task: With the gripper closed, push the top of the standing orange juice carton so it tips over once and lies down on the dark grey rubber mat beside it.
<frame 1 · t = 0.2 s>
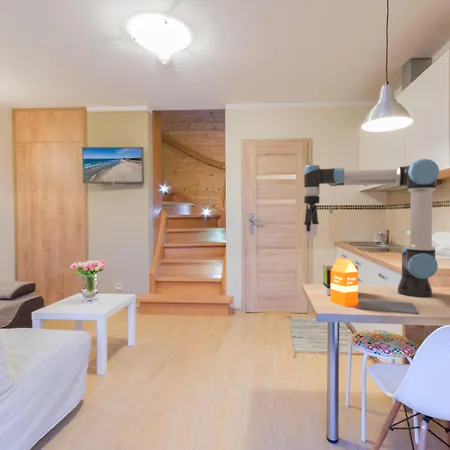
hand: (311, 237, 173), 28 cm above the table, tool pointing down, fingers open, 13 cm apart
tea box: (339, 294, 170), on the table
orange juice: (343, 303, 151), on the table
mat: (385, 306, 145), on the table
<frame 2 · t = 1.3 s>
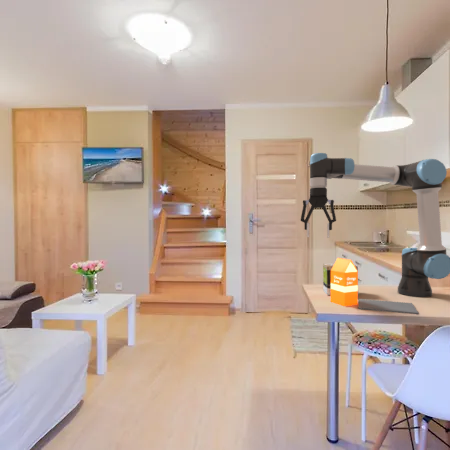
hand: (318, 237, 155), 29 cm above the table, tool pointing down, fingers open, 8 cm apart
nothing on the table moved.
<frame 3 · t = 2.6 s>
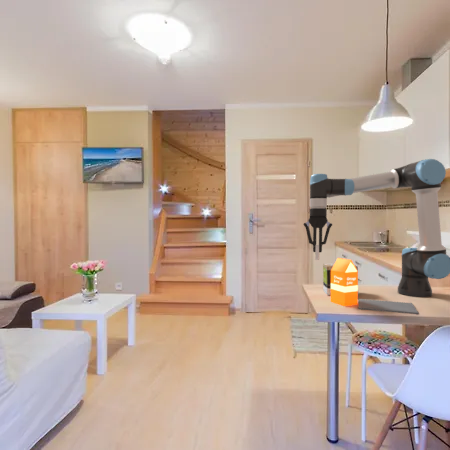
hand: (317, 259, 155), 19 cm above the table, tool pointing down, fingers closed
nothing on the table moved.
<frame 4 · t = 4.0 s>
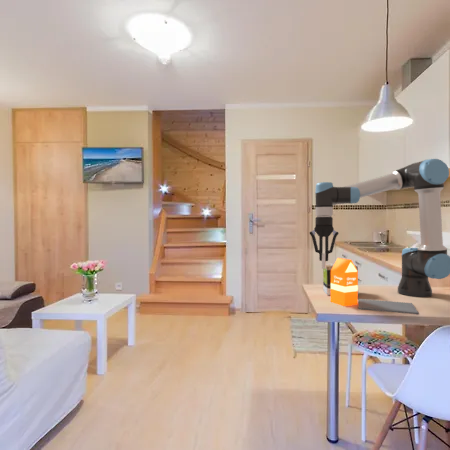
hand: (323, 268, 154), 15 cm above the table, tool pointing down, fingers closed
nothing on the table moved.
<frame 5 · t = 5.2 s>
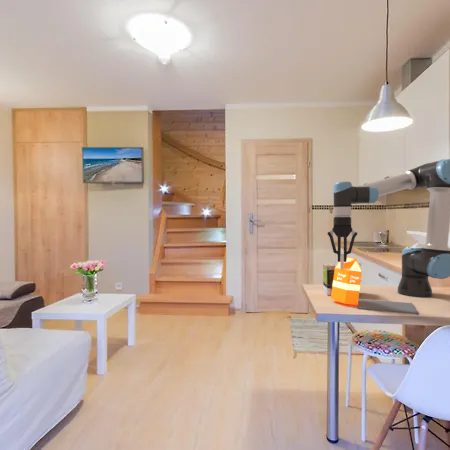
hand: (342, 269, 151), 15 cm above the table, tool pointing down, fingers closed
orange juice: (343, 302, 151), on the table, touching gripper
everything else where it was.
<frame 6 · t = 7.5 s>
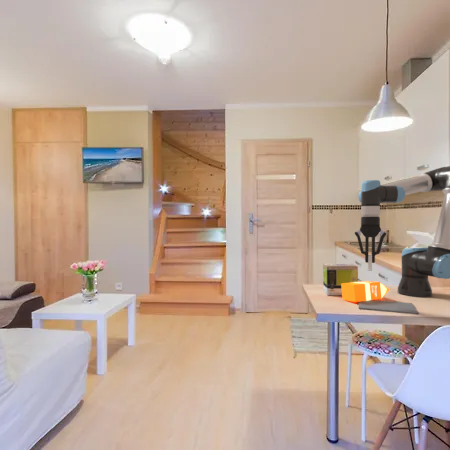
hand: (369, 270, 147), 15 cm above the table, tool pointing down, fingers closed
orange juice: (347, 292, 153), point 4 cm above the table, touching mat
everything else where it was.
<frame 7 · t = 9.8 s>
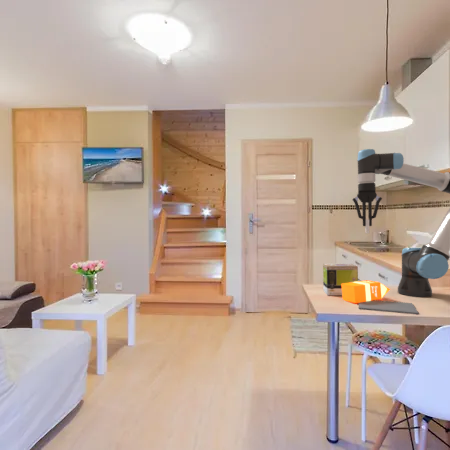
hand: (367, 233, 158), 31 cm above the table, tool pointing down, fingers closed
nothing on the table moved.
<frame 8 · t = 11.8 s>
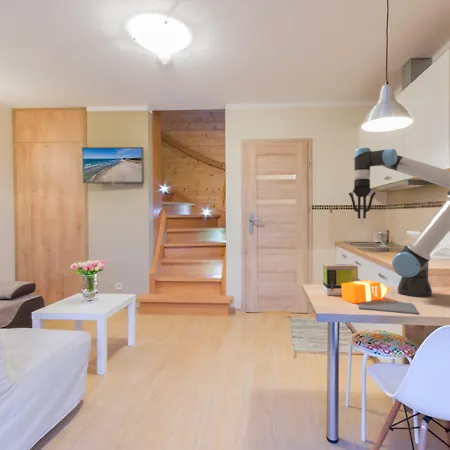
hand: (361, 225, 173), 34 cm above the table, tool pointing down, fingers closed
nothing on the table moved.
at the end: orange juice tilted 87°; orange juice touching mat, table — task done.
